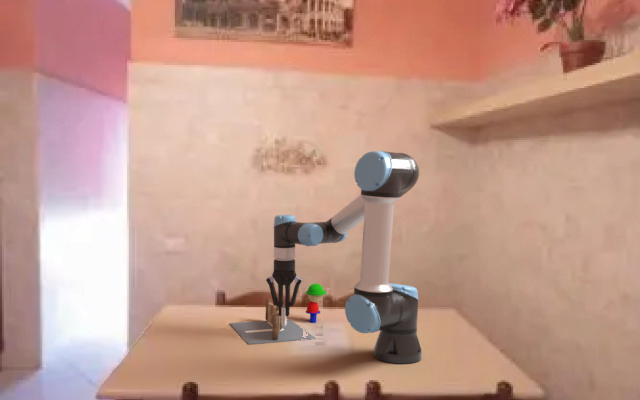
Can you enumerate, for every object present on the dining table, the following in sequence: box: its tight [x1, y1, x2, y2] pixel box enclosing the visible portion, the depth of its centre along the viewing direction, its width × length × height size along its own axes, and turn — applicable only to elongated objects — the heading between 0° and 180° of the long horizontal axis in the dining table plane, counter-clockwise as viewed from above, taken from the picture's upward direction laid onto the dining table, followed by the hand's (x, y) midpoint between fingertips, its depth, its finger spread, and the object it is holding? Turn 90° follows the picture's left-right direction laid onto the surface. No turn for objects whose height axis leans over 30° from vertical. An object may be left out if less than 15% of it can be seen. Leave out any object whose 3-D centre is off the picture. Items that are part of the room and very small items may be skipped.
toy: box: [305, 283, 327, 324], centre depth 225 cm, size 8×8×15 cm
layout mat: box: [229, 318, 316, 346], centre depth 209 cm, size 28×24×1 cm
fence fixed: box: [265, 298, 282, 330], centre depth 216 cm, size 16×2×9 cm, turn 22°
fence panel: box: [272, 310, 280, 340], centre depth 202 cm, size 13×2×8 cm, turn 179°
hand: (284, 325), depth 202 cm, fingers closed
